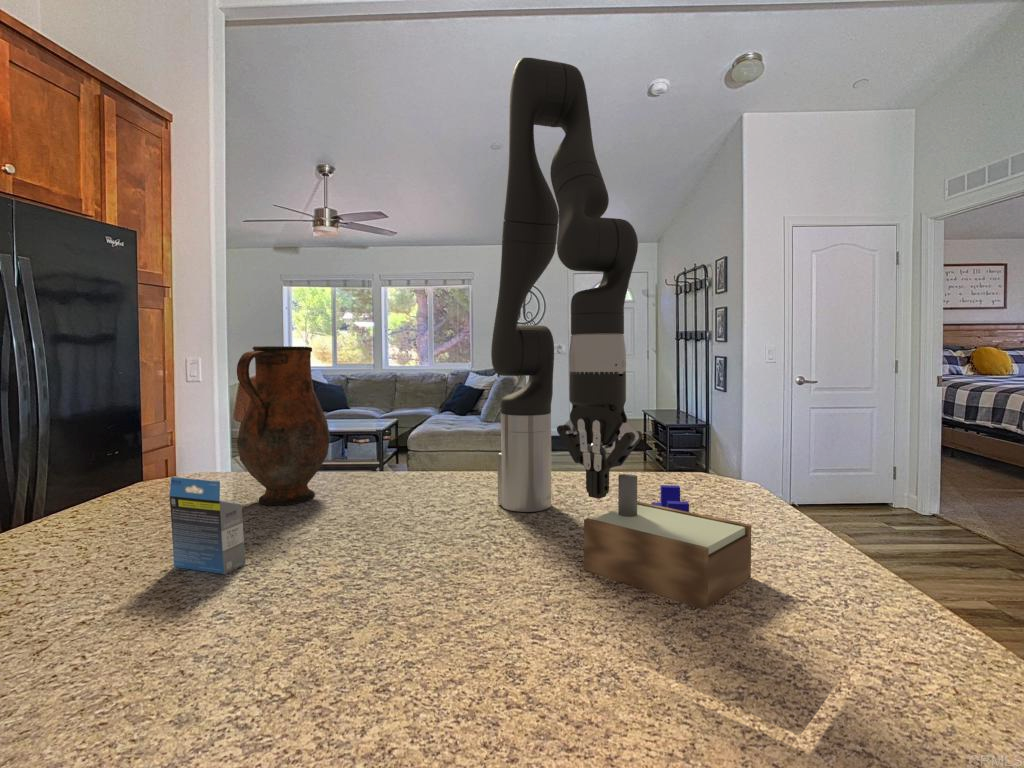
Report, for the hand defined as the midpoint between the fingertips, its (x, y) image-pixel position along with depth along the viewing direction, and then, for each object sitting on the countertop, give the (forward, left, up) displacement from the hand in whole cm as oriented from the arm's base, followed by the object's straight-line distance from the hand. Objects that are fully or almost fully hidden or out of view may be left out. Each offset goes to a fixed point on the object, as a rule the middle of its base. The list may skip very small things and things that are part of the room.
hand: (597, 496), depth 76 cm
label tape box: (-36, -38, -9) cm, 53 cm away
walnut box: (+10, 0, -9) cm, 13 cm away
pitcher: (-63, -17, -9) cm, 66 cm away
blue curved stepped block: (0, +18, -9) cm, 20 cm away
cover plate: (+10, 0, -2) cm, 11 cm away
